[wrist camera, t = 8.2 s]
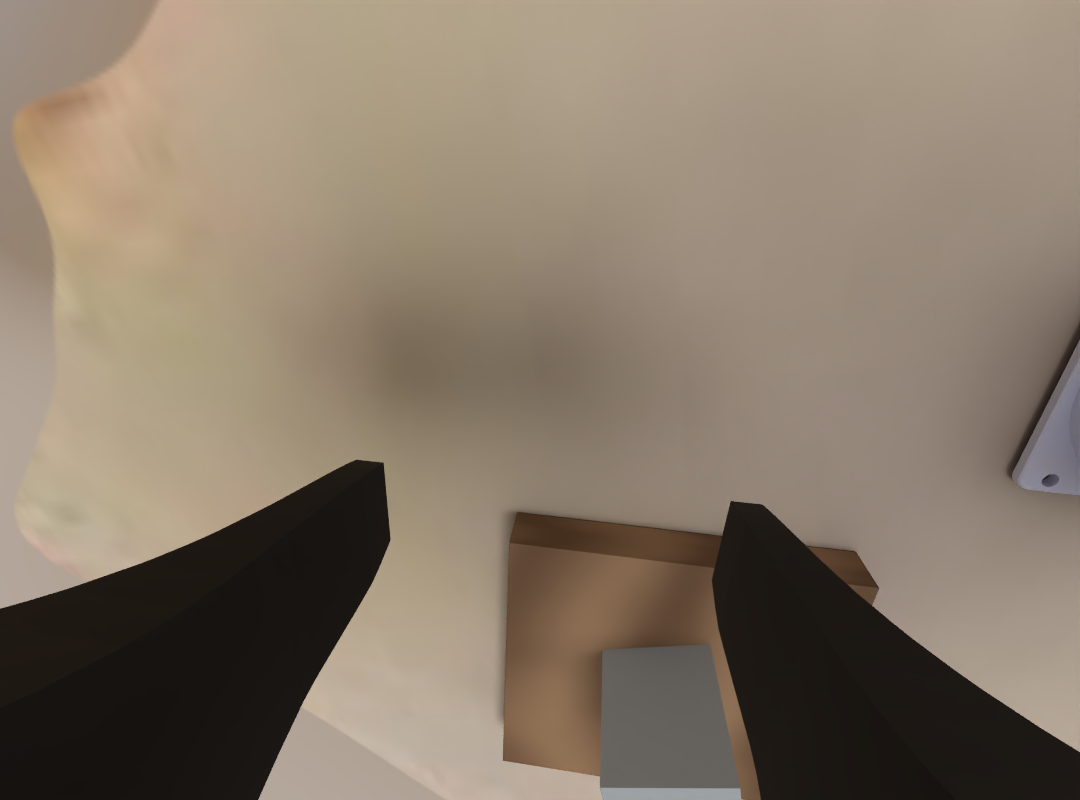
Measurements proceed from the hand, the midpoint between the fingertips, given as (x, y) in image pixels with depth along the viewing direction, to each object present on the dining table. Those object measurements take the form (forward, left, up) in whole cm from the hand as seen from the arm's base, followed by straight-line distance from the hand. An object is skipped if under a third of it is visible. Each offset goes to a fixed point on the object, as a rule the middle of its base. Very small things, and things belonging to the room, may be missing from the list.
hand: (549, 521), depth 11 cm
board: (-5, +14, -9) cm, 18 cm away
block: (-5, +14, -7) cm, 16 cm away
